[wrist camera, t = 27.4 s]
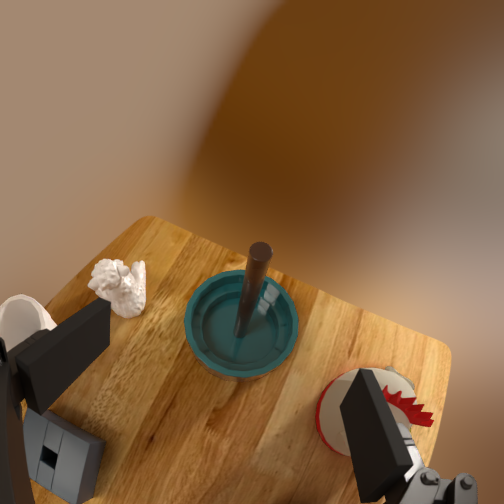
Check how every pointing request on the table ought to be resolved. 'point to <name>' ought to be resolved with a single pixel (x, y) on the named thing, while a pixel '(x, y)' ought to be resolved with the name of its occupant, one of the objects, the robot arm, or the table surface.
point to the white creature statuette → (120, 286)
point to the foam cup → (22, 319)
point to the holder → (62, 456)
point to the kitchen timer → (396, 395)
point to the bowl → (223, 321)
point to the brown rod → (252, 285)
